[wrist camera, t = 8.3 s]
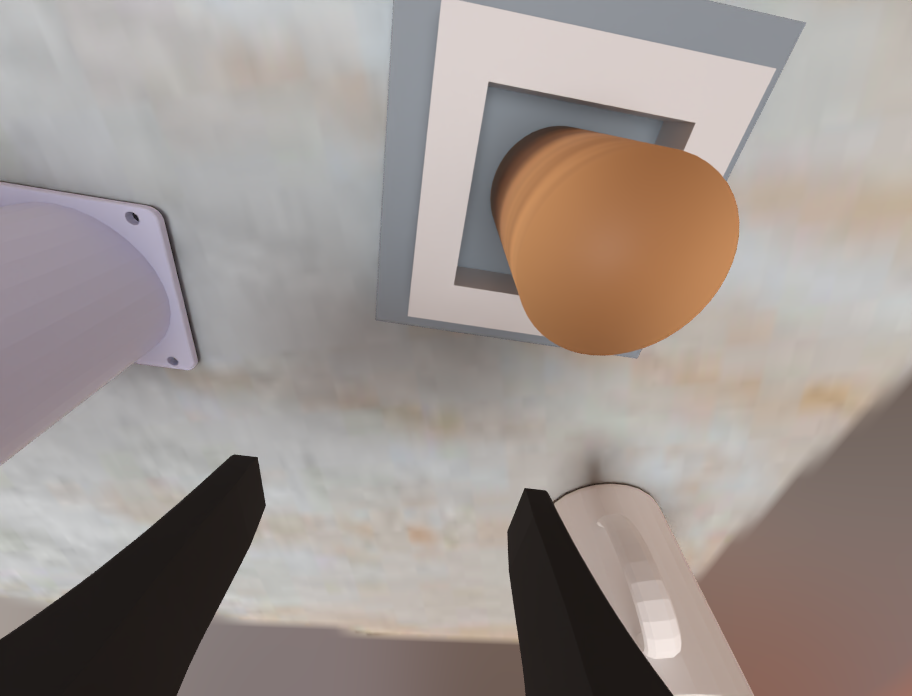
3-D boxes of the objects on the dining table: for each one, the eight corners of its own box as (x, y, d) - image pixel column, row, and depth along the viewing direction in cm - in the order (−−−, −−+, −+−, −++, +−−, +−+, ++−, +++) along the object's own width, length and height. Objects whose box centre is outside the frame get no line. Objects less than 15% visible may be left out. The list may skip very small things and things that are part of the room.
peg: (482, 249, 15) (501, 347, 9) (501, 118, 12) (543, 132, 6) (592, 260, 15) (681, 362, 9) (631, 133, 13) (785, 160, 7)
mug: (657, 541, 28) (751, 745, 19) (550, 556, 29) (590, 755, 20) (659, 423, 22) (799, 642, 13) (521, 448, 23) (561, 665, 14)
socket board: (381, 305, 18) (365, 344, 15) (404, -51, 11) (384, -107, 8) (625, 341, 19) (656, 385, 16) (770, 31, 12) (868, 6, 9)
